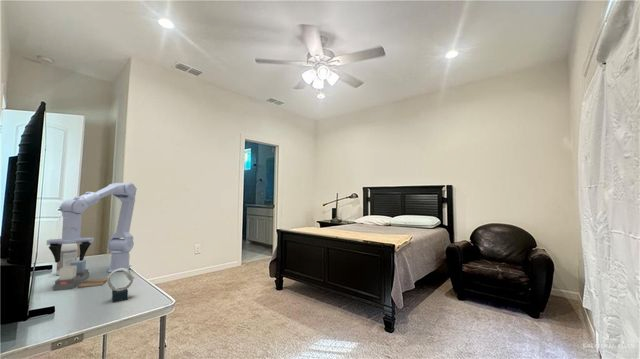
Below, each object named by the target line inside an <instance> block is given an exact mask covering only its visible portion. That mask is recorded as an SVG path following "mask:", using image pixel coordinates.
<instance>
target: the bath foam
mask: <svg viewBox="0 0 640 359" xmlns="http://www.w3.org/2000/svg"><path fill="white" fill-rule="evenodd" d="M64 243H65V242H64ZM78 248H79V247H78V243H73V244H62V247H61V252H60V262H58V263H56V269H55V270H56V272H55V274H56V276H60V269H61V268H62V267H64V266H71V262H73V261H77V260H78V250H79V249H78Z"/></svg>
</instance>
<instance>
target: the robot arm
mask: <svg viewBox="0 0 640 359" xmlns="http://www.w3.org/2000/svg"><path fill="white" fill-rule="evenodd" d="M136 194H137V188H136V186H135V184H134V183H133V182H112V183H110V184H108V185H106V186H105V187H104V188H103V187H102V188H101V189H99V190H97V191H95V192H94V191H86V192H84V194H82V195H79V196H75V197H74V198H73V199H66V200H64V201H63V202H62V203H61V204H60V205H59V211H60V212H61V214H62V215H61V216H62V226H61V227H62V230H61V238H55V239H48V240H46V246H48V249H49V250H50V252H51V254H52V256H53V258H54V262H55V263H56V264H57V263H58V262H60V252H61V247H62V244H73V243H76V244H79V260H80V261H82V260H85V255H86V253H87V251H88V249H89V248H90V246H91V245H92V244H93V243H94V241H95V239H94V238H95V237H81V233H82V232H81V230H82V218H83V213H84V212H85V211H86V210H87V208H89V207H92V206H93V205H96V204H98V203H99V202H100V200H101V199H103V198H105V197H109V196H111V195H112V196H114V197H115V198H117V200H118V199H119V200H120V201H121V204H120V209H119V210H120V211H119V215H118V216H119V217H118V221H117V226H116V232H114V233H113V234H112V235H111V236H110V240H108V243H107V249H108V251H109V252H110V253H111V255H110V268H109V269H108V270H107V273H111V272H112V271H114V270H116V269H119V268H125V269H126V268H127V269H128V270H129V269H130V268H131V267H132V265H130V257H131V256H130V252H131V250H132V249H133V248H134V235H132V234H131V233H130V230H131V223H132V218H133V213H134V208H135V203H136ZM64 242H65V243H64ZM118 272H123V270H120V271H117V272H116V273H118Z"/></svg>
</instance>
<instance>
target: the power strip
mask: <svg viewBox="0 0 640 359" xmlns="http://www.w3.org/2000/svg"><path fill="white" fill-rule="evenodd" d="M89 277H90V271H89V268H88V269H87V268H85V271H84V272H80V273H76V277H75V278H73V279H68V280H59V278H58V279H56V280H54V284H53V285H52V291H53V292H55V291H56V292H57V291H65V290H73V289H74V288H75V287H78V286H79V285H80V284H82V283H83V282H84V281H86V280H87V279H88V278H89Z"/></svg>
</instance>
